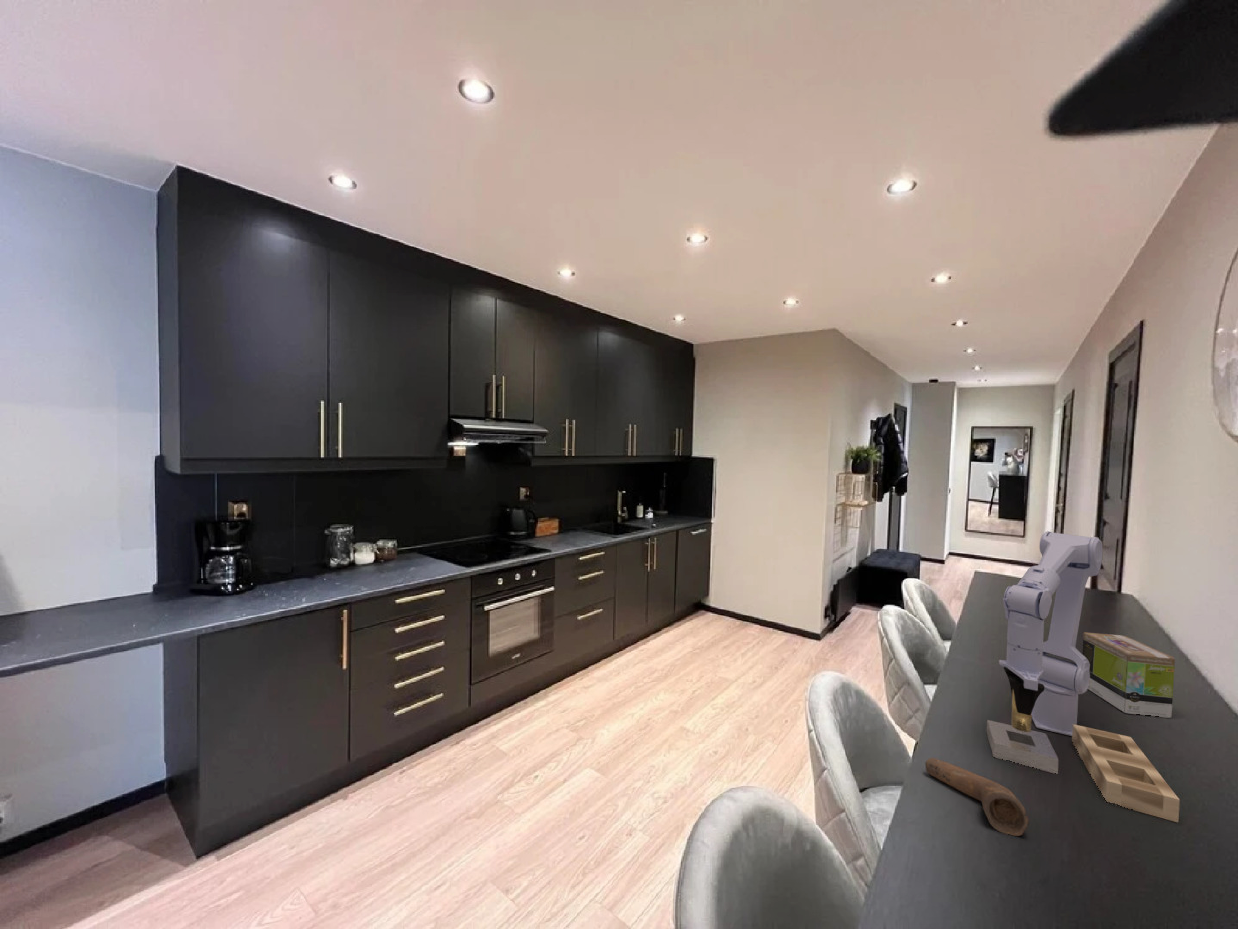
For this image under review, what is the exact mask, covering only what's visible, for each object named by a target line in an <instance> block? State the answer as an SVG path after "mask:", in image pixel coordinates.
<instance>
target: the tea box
mask: <svg viewBox="0 0 1238 929" xmlns="http://www.w3.org/2000/svg"><path fill="white" fill-rule="evenodd" d="M1082 636H1083V638H1082V653H1081V654H1082V655H1084V656H1085V657H1086V658H1087V659H1088V661H1089V664H1090V669H1089V672H1090V681H1089V686H1088V689H1087V690H1089V691H1091V692H1092V693H1093V694H1095V695H1097V697H1099V698H1101V699H1103V700H1104V701H1106V702H1108V703H1109V704H1110V705H1112V706H1114V707H1115V708H1116V709H1118V710H1119V711H1122V712H1123V713H1124V714H1129V715H1136V714H1140V715H1139V716H1145V715H1151V716H1150V717H1155V716H1159V717H1158V718H1164V719H1166V718H1167V719H1168V718H1169V719H1170V718H1172V714H1173V701H1174V700H1173V699H1174V697H1173V696H1174V685H1175V684H1174V681H1175V668H1176V659H1175V657H1173V656H1171V655H1169V654H1167V653H1165V652H1163V651H1160V650H1157V649H1155V648H1153V647H1151V646H1149V645H1146V644H1144V643H1143V642H1141V641H1138V640H1135V639H1132V638H1130V637H1128V636H1126V635H1123V634H1122V635H1121V634H1110V633H1109V634H1108V633H1097V632H1096V633H1095V632H1085V631H1084V632H1083V635H1082Z"/></svg>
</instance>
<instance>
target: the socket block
mask: <svg viewBox="0 0 1238 929" xmlns="http://www.w3.org/2000/svg"><path fill="white" fill-rule="evenodd" d="M986 735H987V739H988V743H989V746H990V749H991V750H990V751H991V753H992V756H993V758H994V757H995V759H999V760H1002V759H1003V760H1002V761H1006V760H1010V761H1012V762H1011V763H1013V762H1015V764H1017V763H1019V764H1018V765H1021V764H1022V765H1021V766H1024V765H1025V767H1028V766H1029V767H1030V768H1032V767H1034V768H1033V769H1036V768H1037V769H1036V770H1039V769H1040V770H1041V771H1044V772H1048V773H1052V774H1055V773H1056V774H1055V775H1058V774H1059V757H1058V755H1057V753H1056V752H1055V749H1054V748H1053V745H1052V744H1051V741H1050V740H1049V736H1048V734H1047V733H1044V732H1041V731H1038V730H1037V731H1036V730H1032V729H1031V731H1030V732H1023V731H1020V730H1017V729H1015V728H1013V727H1012V726H1011V724H1007V723H1004V722H1003V723H1002V722H997V721H994V720H989V719H987V721H986Z"/></svg>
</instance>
